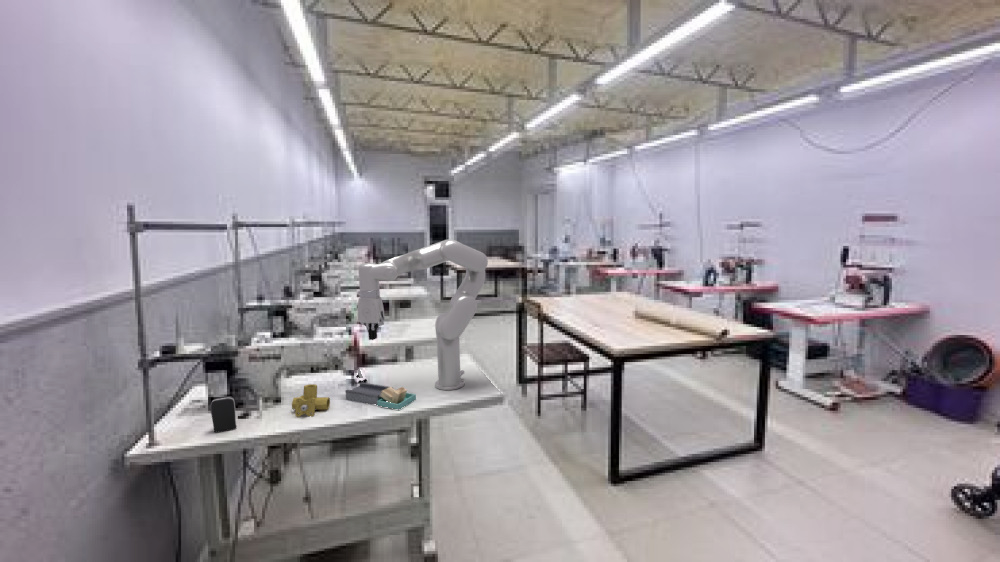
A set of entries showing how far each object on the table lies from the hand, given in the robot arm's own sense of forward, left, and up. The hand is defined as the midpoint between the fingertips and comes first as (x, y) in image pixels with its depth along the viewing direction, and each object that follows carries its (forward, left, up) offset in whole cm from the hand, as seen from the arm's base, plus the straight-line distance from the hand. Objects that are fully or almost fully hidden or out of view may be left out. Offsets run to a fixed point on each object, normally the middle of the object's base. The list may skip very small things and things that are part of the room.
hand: (373, 339), depth 178 cm
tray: (+4, +13, -23) cm, 27 cm away
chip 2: (+4, +14, -20) cm, 24 cm away
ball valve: (+23, -12, -24) cm, 35 cm away
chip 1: (+5, +10, -21) cm, 24 cm away
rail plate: (+4, 0, -23) cm, 24 cm away
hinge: (-13, -22, -24) cm, 35 cm away
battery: (+44, -29, -24) cm, 58 cm away
